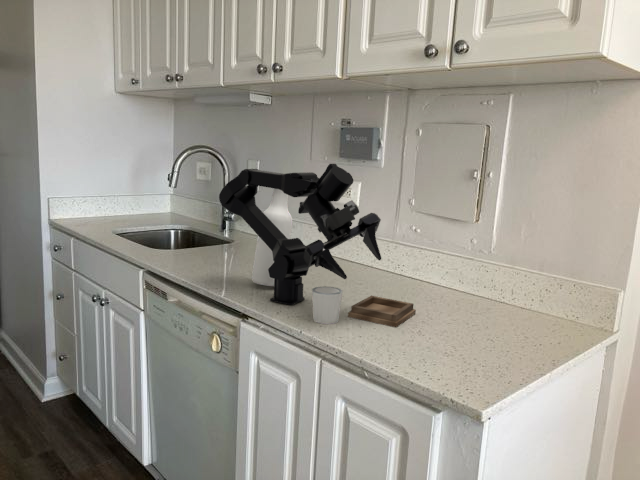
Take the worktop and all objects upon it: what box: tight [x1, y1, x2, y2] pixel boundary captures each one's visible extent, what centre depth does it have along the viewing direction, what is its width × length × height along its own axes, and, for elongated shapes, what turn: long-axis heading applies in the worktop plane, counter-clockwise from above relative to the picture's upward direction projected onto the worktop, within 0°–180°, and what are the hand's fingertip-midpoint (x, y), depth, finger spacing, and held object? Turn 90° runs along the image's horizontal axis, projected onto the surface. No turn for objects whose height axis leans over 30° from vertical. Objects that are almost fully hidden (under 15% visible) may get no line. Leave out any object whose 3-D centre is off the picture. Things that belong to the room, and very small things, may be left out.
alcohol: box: [251, 188, 293, 287], centre depth 144 cm, size 9×9×30 cm
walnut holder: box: [347, 295, 417, 328], centre depth 124 cm, size 12×12×2 cm
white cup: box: [311, 285, 343, 325], centre depth 119 cm, size 7×7×7 cm
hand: (363, 268), depth 115 cm, fingers open, 9 cm apart
